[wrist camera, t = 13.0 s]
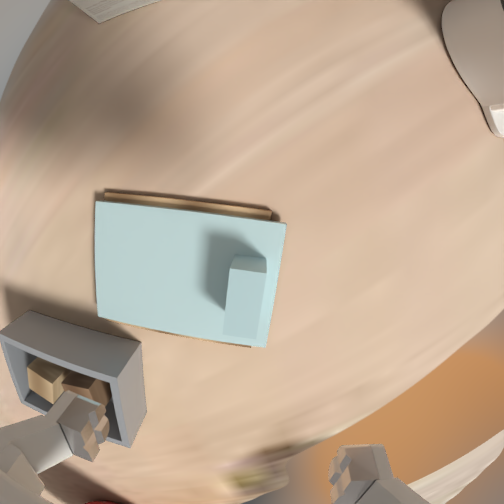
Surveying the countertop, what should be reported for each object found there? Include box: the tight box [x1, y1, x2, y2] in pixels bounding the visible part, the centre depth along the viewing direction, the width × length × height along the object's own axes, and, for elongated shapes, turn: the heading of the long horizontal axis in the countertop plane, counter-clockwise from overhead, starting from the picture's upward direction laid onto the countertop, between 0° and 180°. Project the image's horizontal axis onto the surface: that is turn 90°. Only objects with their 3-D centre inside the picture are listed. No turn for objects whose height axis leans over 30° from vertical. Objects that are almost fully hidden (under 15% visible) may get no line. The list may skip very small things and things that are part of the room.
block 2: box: [61, 370, 112, 407], centre depth 25 cm, size 4×4×5 cm
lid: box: [95, 200, 287, 348], centre depth 22 cm, size 16×11×4 cm
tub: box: [0, 310, 147, 448], centre depth 26 cm, size 15×10×6 cm, turn 82°
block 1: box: [27, 357, 72, 404], centre depth 26 cm, size 4×4×5 cm
